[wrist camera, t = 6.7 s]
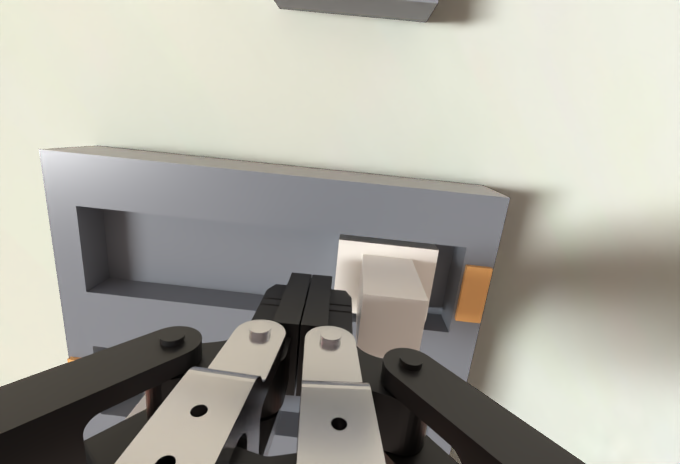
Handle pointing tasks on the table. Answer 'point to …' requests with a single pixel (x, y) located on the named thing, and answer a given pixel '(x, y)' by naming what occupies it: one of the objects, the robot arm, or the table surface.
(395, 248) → the tab
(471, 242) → the switch bank
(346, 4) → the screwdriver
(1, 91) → the table surface
